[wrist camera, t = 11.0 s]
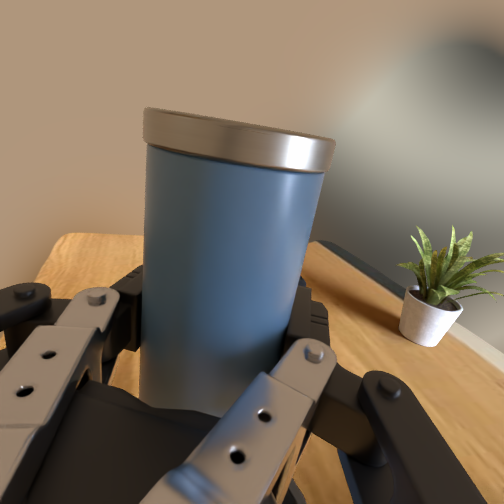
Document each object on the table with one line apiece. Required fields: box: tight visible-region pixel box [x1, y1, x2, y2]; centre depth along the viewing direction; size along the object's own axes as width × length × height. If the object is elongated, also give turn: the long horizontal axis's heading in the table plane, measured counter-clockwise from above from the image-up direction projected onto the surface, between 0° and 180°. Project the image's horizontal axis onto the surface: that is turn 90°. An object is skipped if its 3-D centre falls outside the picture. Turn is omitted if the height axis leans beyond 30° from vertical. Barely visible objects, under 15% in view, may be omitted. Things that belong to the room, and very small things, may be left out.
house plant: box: [397, 227, 504, 347], centre depth 40 cm, size 14×14×16 cm
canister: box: [139, 107, 336, 418], centre depth 11 cm, size 5×5×16 cm
